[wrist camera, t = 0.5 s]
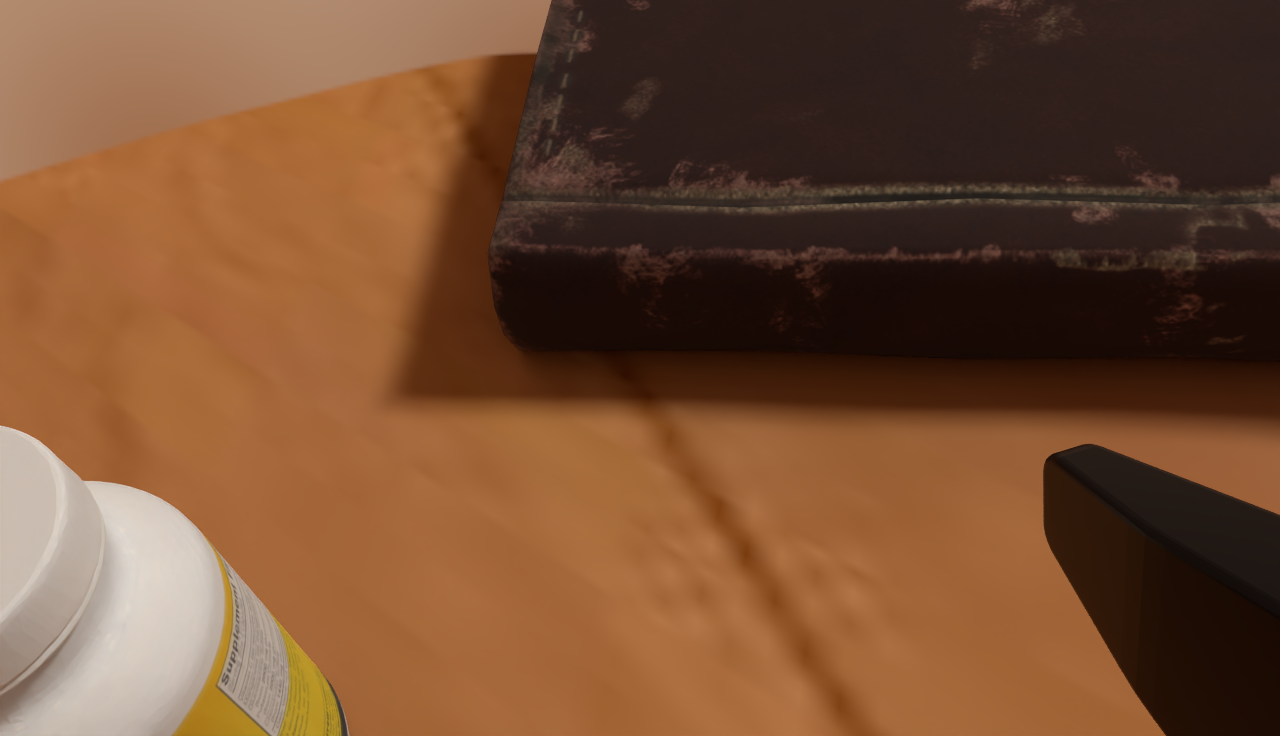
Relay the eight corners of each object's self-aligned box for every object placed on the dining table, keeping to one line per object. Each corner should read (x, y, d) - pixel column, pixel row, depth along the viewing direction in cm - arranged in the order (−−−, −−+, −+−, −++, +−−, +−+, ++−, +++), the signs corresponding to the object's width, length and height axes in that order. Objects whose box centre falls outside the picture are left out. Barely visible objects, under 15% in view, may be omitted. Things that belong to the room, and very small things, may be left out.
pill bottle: (42, 924, 24) (-421, 751, 15) (148, 647, 28) (-167, 376, 19) (318, 950, 23) (4, 780, 14) (390, 659, 27) (180, 379, 18)
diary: (1442, 398, 28) (1545, 267, 25) (516, 378, 33) (477, 263, 29) (1275, -18, 40) (1327, -155, 36) (600, 5, 44) (580, -115, 40)
